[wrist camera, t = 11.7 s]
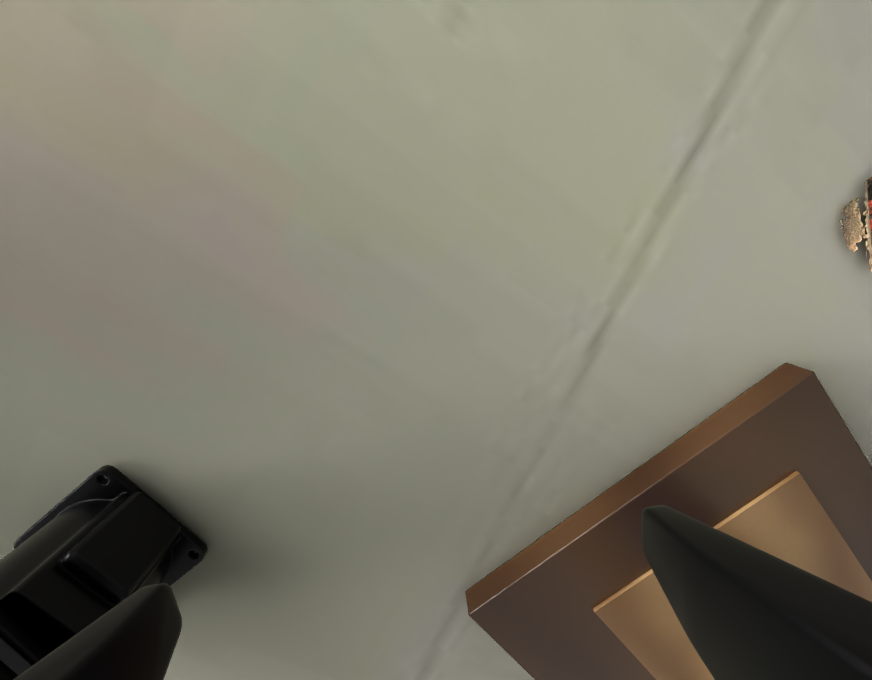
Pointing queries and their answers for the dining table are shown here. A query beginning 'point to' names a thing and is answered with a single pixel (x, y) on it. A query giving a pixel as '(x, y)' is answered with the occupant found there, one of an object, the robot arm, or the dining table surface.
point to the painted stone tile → (859, 222)
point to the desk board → (704, 501)
